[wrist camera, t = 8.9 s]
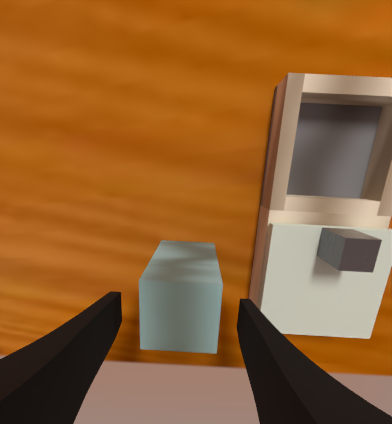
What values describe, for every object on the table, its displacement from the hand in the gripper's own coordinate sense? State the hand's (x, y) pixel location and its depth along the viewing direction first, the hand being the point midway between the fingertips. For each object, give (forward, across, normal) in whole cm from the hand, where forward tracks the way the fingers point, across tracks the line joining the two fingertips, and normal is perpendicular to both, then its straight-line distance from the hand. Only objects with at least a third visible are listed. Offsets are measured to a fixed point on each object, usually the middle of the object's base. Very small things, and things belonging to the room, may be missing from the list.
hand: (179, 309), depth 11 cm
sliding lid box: (+5, -10, -5) cm, 13 cm away
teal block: (+5, 0, 0) cm, 5 cm away
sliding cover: (+3, -10, -1) cm, 11 cm away
